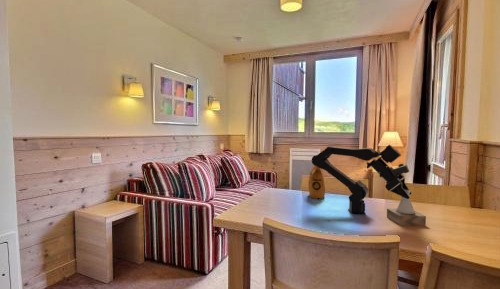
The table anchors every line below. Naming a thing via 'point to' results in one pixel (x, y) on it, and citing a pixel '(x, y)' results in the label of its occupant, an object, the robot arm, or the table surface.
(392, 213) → the walnut block
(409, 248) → the table surface
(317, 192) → the coffee package
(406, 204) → the flask
